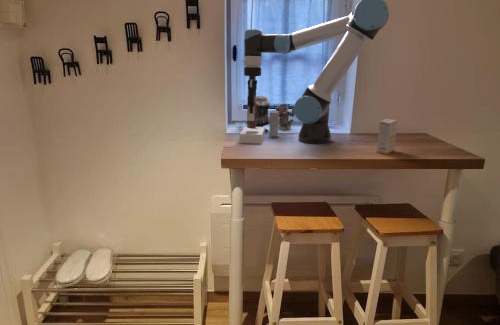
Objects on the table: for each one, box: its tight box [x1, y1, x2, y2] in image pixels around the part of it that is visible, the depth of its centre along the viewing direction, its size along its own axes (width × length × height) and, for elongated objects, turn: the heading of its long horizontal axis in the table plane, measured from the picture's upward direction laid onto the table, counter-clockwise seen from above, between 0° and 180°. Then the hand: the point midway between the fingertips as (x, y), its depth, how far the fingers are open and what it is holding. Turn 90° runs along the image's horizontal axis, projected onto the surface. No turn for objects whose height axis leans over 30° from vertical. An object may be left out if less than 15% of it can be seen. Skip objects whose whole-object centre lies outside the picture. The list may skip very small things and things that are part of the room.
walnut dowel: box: [246, 95, 257, 128], centre depth 167 cm, size 4×4×14 cm
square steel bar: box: [268, 110, 280, 138], centre depth 179 cm, size 4×4×12 cm
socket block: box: [239, 125, 266, 145], centre depth 174 cm, size 10×20×4 cm, turn 174°
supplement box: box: [376, 118, 399, 155], centre depth 151 cm, size 8×5×13 cm, turn 141°
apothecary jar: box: [256, 95, 271, 133], centre depth 191 cm, size 12×12×18 cm
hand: (251, 119), depth 167 cm, fingers closed on walnut dowel, 4 cm apart
